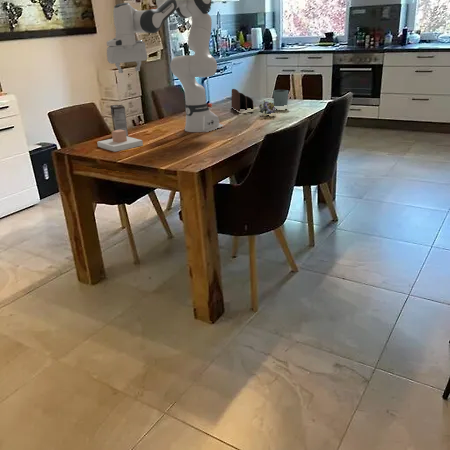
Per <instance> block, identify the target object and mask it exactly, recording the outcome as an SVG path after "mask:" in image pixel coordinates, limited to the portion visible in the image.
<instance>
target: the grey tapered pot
mask: <svg viewBox="0 0 450 450" xmlns="http://www.w3.org/2000/svg"><path fill="white" fill-rule="evenodd" d="M289 93H290V92H289V90H288V89H276V90H272V95H273V104H274V106H284V105H287V106H288V102H289V98H288V97H289Z"/></svg>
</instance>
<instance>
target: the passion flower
mask: <svg viewBox="0 0 450 450" xmlns="http://www.w3.org/2000/svg"><path fill="white" fill-rule="evenodd" d="M258 108H259V111H258V113H259V112H260V114H261V113H262V114H266V115H267V114H271V113H274V112H275V113H276V110H275V109H276V108H275V107H274V102H271V101H266V100H265V99H263V104H262V103H260V104H259V106H258Z"/></svg>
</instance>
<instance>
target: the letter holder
mask: <svg viewBox="0 0 450 450" xmlns="http://www.w3.org/2000/svg"><path fill="white" fill-rule="evenodd" d="M230 98H231V99H230V100H231V107H233V108H234V109H236V110H238V111H240V109H245V110H247V108H251V109H254V101H253V98H252V97H250V96H248V95H245V94H244V93H242V92H240V91H239V90H238V89H235V88H232V89H231V97H230Z"/></svg>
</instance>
